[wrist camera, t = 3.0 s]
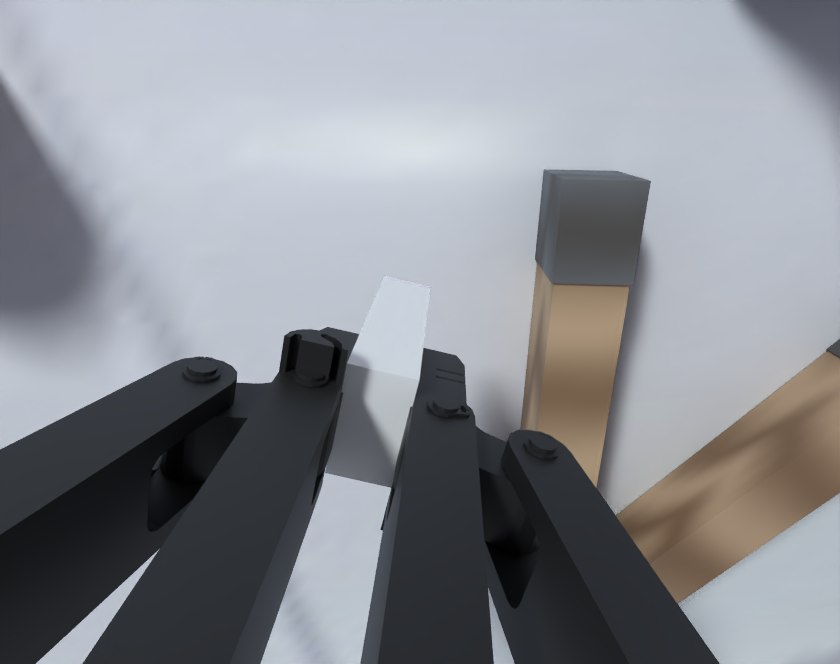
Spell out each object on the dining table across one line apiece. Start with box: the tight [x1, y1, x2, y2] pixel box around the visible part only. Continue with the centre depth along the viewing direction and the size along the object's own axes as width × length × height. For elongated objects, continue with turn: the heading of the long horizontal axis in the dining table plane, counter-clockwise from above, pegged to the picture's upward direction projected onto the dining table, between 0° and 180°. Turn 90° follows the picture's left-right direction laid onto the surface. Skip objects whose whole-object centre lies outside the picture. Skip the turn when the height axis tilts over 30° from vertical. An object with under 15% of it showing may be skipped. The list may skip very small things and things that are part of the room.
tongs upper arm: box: [521, 170, 651, 488], centre depth 25 cm, size 23×6×6 cm, turn 179°
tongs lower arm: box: [616, 339, 840, 604], centre depth 27 cm, size 22×5×4 cm, turn 139°
